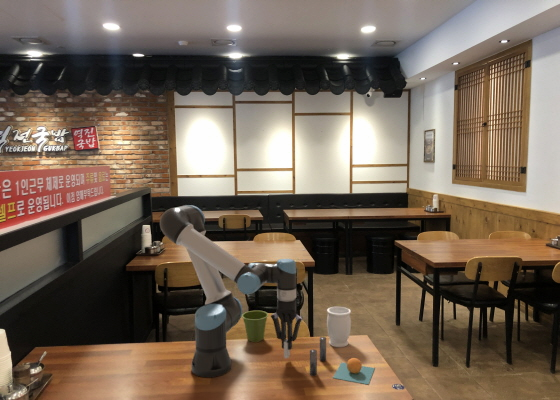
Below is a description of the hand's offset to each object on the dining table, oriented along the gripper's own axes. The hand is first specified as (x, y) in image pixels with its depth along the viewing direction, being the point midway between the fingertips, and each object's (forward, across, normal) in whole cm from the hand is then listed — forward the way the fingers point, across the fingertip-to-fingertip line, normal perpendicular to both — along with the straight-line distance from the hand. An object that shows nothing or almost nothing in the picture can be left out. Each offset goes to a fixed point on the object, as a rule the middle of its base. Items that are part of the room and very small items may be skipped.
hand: (286, 356), depth 169 cm
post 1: (+2, +13, -6) cm, 15 cm away
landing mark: (+2, +27, 0) cm, 27 cm away
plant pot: (+2, -21, +15) cm, 26 cm away
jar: (+2, +15, +24) cm, 28 cm away
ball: (-1, +27, 0) cm, 27 cm away
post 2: (+2, +13, +6) cm, 15 cm away
